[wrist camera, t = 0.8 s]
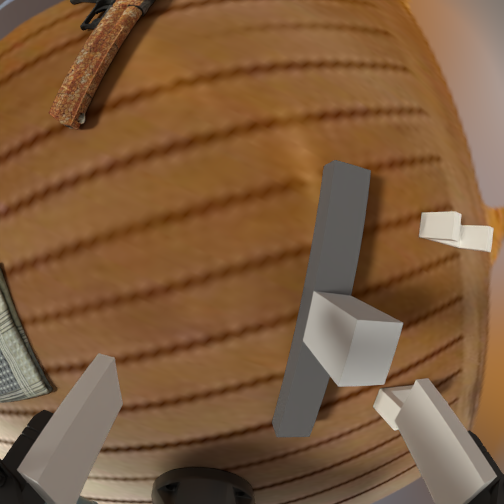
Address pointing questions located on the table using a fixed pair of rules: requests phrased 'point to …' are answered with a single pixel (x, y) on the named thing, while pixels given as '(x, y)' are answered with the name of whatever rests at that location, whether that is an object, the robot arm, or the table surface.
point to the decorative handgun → (95, 56)
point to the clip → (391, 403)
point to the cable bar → (334, 309)
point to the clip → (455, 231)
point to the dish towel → (17, 356)
